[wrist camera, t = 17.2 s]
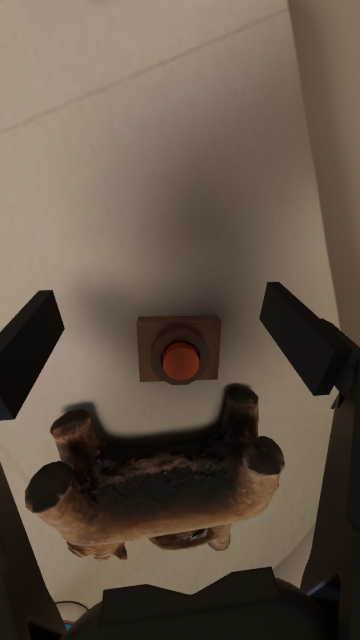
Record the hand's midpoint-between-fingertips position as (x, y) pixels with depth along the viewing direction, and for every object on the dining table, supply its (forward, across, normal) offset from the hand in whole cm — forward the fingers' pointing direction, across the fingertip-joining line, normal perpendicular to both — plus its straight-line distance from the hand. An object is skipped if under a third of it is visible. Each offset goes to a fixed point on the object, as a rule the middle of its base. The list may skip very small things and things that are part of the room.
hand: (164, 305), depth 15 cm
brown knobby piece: (+6, -1, -31) cm, 32 cm away
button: (+8, +2, -11) cm, 14 cm away
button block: (+11, +2, -12) cm, 17 cm away
